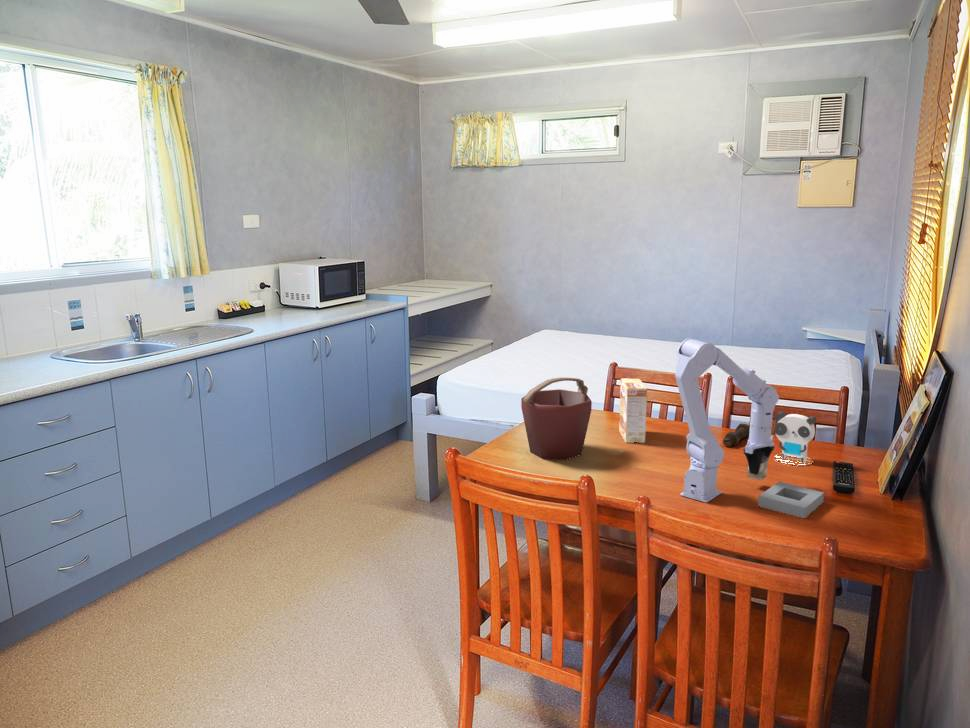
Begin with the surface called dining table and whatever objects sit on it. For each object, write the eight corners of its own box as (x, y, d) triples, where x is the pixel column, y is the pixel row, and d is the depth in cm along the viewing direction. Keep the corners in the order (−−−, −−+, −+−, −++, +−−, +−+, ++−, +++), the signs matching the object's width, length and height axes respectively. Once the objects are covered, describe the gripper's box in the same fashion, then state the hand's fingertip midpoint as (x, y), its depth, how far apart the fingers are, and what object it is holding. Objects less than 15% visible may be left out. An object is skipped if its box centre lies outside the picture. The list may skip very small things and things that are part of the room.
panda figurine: (766, 460, 224) (770, 415, 221) (779, 451, 232) (782, 407, 229) (806, 469, 216) (810, 422, 213) (817, 459, 225) (821, 414, 222)
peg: (760, 480, 199) (762, 460, 198) (747, 477, 202) (748, 457, 200) (766, 476, 202) (768, 456, 201) (752, 473, 204) (754, 453, 203)
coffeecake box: (618, 430, 257) (620, 378, 253) (638, 430, 257) (640, 378, 253) (624, 443, 242) (626, 388, 238) (645, 443, 242) (647, 388, 238)
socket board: (804, 519, 181) (805, 508, 180) (758, 506, 189) (758, 495, 188) (823, 502, 191) (824, 492, 190) (778, 491, 199) (779, 481, 198)
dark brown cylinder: (723, 452, 238) (742, 440, 249) (736, 448, 234) (754, 436, 245) (716, 436, 239) (734, 425, 249) (729, 432, 235) (747, 420, 246)
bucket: (579, 439, 247) (580, 369, 242) (605, 459, 226) (607, 383, 221) (512, 445, 241) (512, 374, 236) (533, 467, 220) (533, 389, 215)
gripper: (764, 434, 191) (760, 481, 194) (785, 423, 201) (781, 468, 204) (739, 429, 195) (735, 475, 198) (760, 418, 206) (757, 462, 209)
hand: (757, 471), depth 201 cm, fingers closed on peg, 4 cm apart
